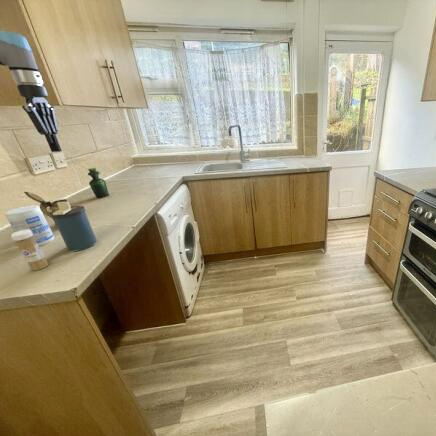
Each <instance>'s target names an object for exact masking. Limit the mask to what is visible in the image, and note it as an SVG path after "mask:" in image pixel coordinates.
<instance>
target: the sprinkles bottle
mask: <svg viewBox="0 0 436 436" xmlns="http://www.w3.org/2000/svg"><path fill="white" fill-rule="evenodd" d="M10 237H11V239H12V240H13V241H14V242H15V244H16V245H17V247H18V249H19V251H20V252H21V254H22V256H23V258H24V260H25V262H26V263H27V265H28V266H29V267H30V268H29V269H30V270H31V271H39V270H42V269H44V268H46V267H47V266H48V265H50V263H49V261H48V260H47V258H46V257H45V254H44V252H43V250H42V249H41V246H39V245H38V243H37V242H36V240H35V238H34V236H33V233H32V231H31V230H21V231H18V232H13V233H12V234H11V235H10Z"/></svg>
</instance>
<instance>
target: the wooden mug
mask: <svg viewBox="0 0 436 436" xmlns="http://www.w3.org/2000/svg"><path fill="white" fill-rule="evenodd" d="M23 193H24V194H25V195H26V196H27V197H28V198H29V199H32V200H33V201H35V202H37V203H40V204H39V208H40V209H41V211H42V213H43V215H46V216H47V217H49V218H51V219H52V220H53V222H54V226H55V227H57V225H56V222H55V220H54V218H52V216H51V213H52V212H54V211H56V210H59V207H58V205H57V203H58V202H69V201H68V200H67V199H65V198H61V199H57V200H54V201H46V200H44V199H43V198H42V197H40V196H39V195H37V194H35V193H33V192H30V191H24V192H23ZM69 205H70V207H72V205H71V203H70V202H69ZM47 208H49V210H50V211H48V210H47Z"/></svg>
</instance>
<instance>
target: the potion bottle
mask: <svg viewBox="0 0 436 436" xmlns="http://www.w3.org/2000/svg"><path fill="white" fill-rule="evenodd" d="M87 171H89V172H88V173H87V176H90V177H91V178H92V179H91V180H90V181H89V182H88V185H89V186H90V188H91V190H92V192H93V194H94V196H95V198H96V199H103V198H107V197H109V196H110V194H109V189H108V186H107V183H106V180H105V179H104V178H100V176H99V175H100V174H101V172H100V171H99V170H97V168H96V167H90V168H88V169H87Z"/></svg>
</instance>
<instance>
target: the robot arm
mask: <svg viewBox="0 0 436 436" xmlns="http://www.w3.org/2000/svg"><path fill="white" fill-rule="evenodd" d="M0 66H4V67H5V66H6V67H8V70H9V73H10V75H11V77H12V79H13V81H14V83H15V84H16V89H17V91H18V93H19V95H20V97H22V98H25V103H26V104H25V105H21V108H22V109H23V110H24V112H25V113H26V114H27V116H28V117H29V119H30V121H31V122H32V125H33V126H34V128H35V129H36V131H37V133H38V134H40V135H42V136H43V135H44V137H45V140H46V142H47V144H48V147H49V150H50V151H51V153H59V152H62V148H61V146H60V145H61V144H60V142H59V140H58V137H57V135H58V134H59V125H58V122H57V117H56V109H55V107H54V106H53V105H52V106H51V105H50V104H49V101H48V100H47V99H46V98H48V97H49V94H48V91H47V89H46V87H45V86H44V81H43V79H42V75H41V73H40V71H39V67H38V65H37V62H36V59H35V55H34V53H33V50H32V48H31V46H30V43H29V42H28V40H27V38H26V37H25V36H24V35H22V34H20V33H17V32H12V31H5V30H0Z"/></svg>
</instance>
